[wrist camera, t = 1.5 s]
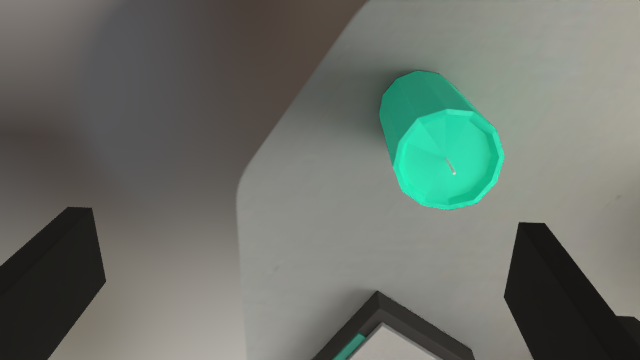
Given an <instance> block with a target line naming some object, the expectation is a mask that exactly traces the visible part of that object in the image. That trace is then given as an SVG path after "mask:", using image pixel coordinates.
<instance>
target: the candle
mask: <svg viewBox="0 0 640 360" xmlns="http://www.w3.org/2000/svg"><path fill="white" fill-rule="evenodd" d="M379 117H380V121H381V125H382V129H383V132H384V136H385V140H386V143H387V147H388V151H389V154H390V158H391V162H392V165H393V169H394V171H395V174H396V177H397V179H398V182H399V184H400V187H401V190H402V191H403V192H404V193H406V194H407V195H408V196H410V197H411V198H413V199H414V200H415V201H417V202H418V203H420V204H421V205H423V206H429V207H434V208H440V209H445V210H452V209H456V208H460V207H464V206H468V205H473V204H477V203H478V202H479V201H480V200H481V199H482V198H483V196H484V195H485V194H486V193H487V192H488V191H489V190H490V189H491V188H492V187H493V186H494V185H495V183H496V182H497V179H498V176H499V173H500V170H501V167H502V164H503V161H504V158H505V156H504V152H503V149H502V146H501V142H500V139H499V135H498V132H497V130H496V129H495V128H494V127H493V126H492V125H491V124H490V123H489V122H488V121H487V120H486V119H485V118H484V117H483V116H482V115H481V114H480V113H479V111H478V110H477V109H476V108H475V107H474V106H473V105H472V104H471V103H470V102H469V101H468V100H467V99H466V98H465V97H464V96H463V95H462V94H461V93H460V92H459V91H458V90H457V89H456V88H455V87H454V86H453V85H452V84H451V83H450V82H448V81H447V80H446V79H445V78H444V77H442V76H441V75H440V74H439V73H432V72H425V71H418V70H417V71H414V72H412V73H409V74H407V75H404V76H402V77H399V78H397V79H396V80H395V81H394V82H393V84H392V85H391V86H390V87H389V88H388V89H387V91H386V92H385V93H384V94H383V96H382V102H381V107H380V112H379Z"/></svg>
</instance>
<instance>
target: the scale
mask: <svg viewBox="0 0 640 360" xmlns="http://www.w3.org/2000/svg"><path fill="white" fill-rule="evenodd" d="M313 360H475V359H474V356H473V353H472V350H471V349H469V348H467V347H466V346H464V345H463V344H461V343H459V342H458V341H456V340H455V339H453V338H452V337H450V336H448V335H447V334H445V333H444V332H442V331H440V330H439V329H437V328H436V327H434V326H433V325H431V324H429V323H428V322H426V321H425V320H423V319H421V318H420V317H418V316H417V315H415V314H414V313H412V312H410V311H409V310H407V309H406V308H404V307H403V306H401V305H399V304H398V303H396V302H395V301H393V300H391V299H390V298H388V297H387V296H385V295H384V294H382V293H380V292H379V291H377V292H376V293H375V294H374V295H373V296H372V297H371V298H370V299H369V300H368V301H367V302H366V304H365V305H364V306H363V307H362V308H361V309H360V310H359V311H358V312H357V313H356V314H355V315H354V316H353V317H352V318H351V319H350V321H349V322H348V323H347V324H346V325H345V326H344V327H343V328H342V329H341V330H340V331H339V332H338V333H337V334H336V335H335V336H334V338H333V339H332V340H331V341H330V342H329V343H328V344H327V345H326V346H325V347H324V348H323V349H322V350H321V351H320V352H319V353H318V355H317V356H316V357H315V358H314V359H313Z"/></svg>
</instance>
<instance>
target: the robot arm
mask: <svg viewBox="0 0 640 360" xmlns="http://www.w3.org/2000/svg"><path fill="white" fill-rule="evenodd" d="M105 282H106V279H105V273H104V269H103V263H102V258H101V253H100V247H99V242H98V237H97V232H96V227H95V221H94V216H93V211H92V208H83V207H67V208H66V209H65V210H64V211H63V212H61V213H60V214H59V215H58V216H57V217H56V218H55V219H54V220H52V221H51V222H50V223H49V224H48V225H47V226H46V227H44V228H43V229H42V230H41V231H40V232H39V233H38V234H36V235H35V236H34V237H33V238H32V239H31V240H30V241H29V242H27V243H26V244H25V245H24V246H23V247H22V248H21V249H19V250H18V251H17V252H16V253H15V254H14V255H13V256H12V257H10V258H9V259H8V260H7V261H6V262H5V263H3V265H1V266H0V360H47V359H48V358H49V357H50V356H51V354H52V353H53V352H54V350H55V349H56V348H57V346H58V345H59V344H60V342H61V341H62V339H63V338H64V337H65V336H66V334H67V333H68V332H69V330H70V329H71V328H72V326H73V325H74V324H75V322H76V321H77V320H78V318H79V317H80V316H81V314H82V313H83V312H84V310H85V309H86V307H87V306H88V305H89V304H90V302H91V301H92V300H93V298H94V297H95V295H96V294H97V293H98V292H99V290H100V289H101V288H102V286H103V285H104V284H105ZM504 298H505V301H506V303H507V305H508V307H509V309H510V311H511V313H512V315H513V317H514V319H515V321H516V324H517V326H518V328H519V330H520V332H521V334H522V336H523V338H524V340H525V342H526V344H527V347H528V349H529V351H530V353H531V355H532V357H533V359H534V360H640V321H639V320H637V319H636V318H635V317H629V316H616V315H615V314H614V312H613V311H612V310H611V308H610V307H609V306H608V305H607V303H606V302H605V301H604V299H603V298H602V297H601V295H600V294H599V293H598V292H597V290H596V289H595V288H594V286H593V285H592V284H591V283H590V281H589V280H588V279H587V277H586V276H585V275H584V273H583V272H582V271H581V270H580V268H579V267H578V266H577V264H576V263H575V262H574V261H573V259H572V258H571V257H570V255H569V254H568V253H567V251H566V250H565V249H564V248H563V246H562V245H561V244H560V242H559V241H558V240H557V239H556V237H555V236H554V235H553V233H552V232H551V231H550V229H549V228H548V227H547V226H546V224H545V223H525V222H519V224H518V229H517V234H516V239H515V244H514V249H513V254H512V259H511V264H510V269H509V274H508V279H507V284H506V289H505V294H504Z"/></svg>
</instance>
